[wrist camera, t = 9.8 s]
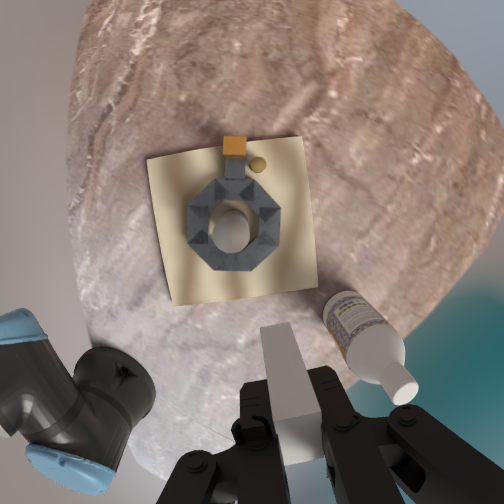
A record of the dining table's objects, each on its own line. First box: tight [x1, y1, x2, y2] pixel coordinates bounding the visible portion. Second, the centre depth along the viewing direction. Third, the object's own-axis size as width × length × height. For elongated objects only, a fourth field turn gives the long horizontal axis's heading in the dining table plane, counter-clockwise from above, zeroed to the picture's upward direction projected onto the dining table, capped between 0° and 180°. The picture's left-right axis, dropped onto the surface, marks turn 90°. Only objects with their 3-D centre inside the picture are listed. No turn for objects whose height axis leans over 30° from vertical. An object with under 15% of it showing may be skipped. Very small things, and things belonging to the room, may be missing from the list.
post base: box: [147, 136, 318, 307], centre depth 33 cm, size 20×20×10 cm
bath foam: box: [323, 291, 418, 405], centre depth 31 cm, size 7×7×20 cm
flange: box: [187, 136, 281, 272], centre depth 33 cm, size 16×11×6 cm
